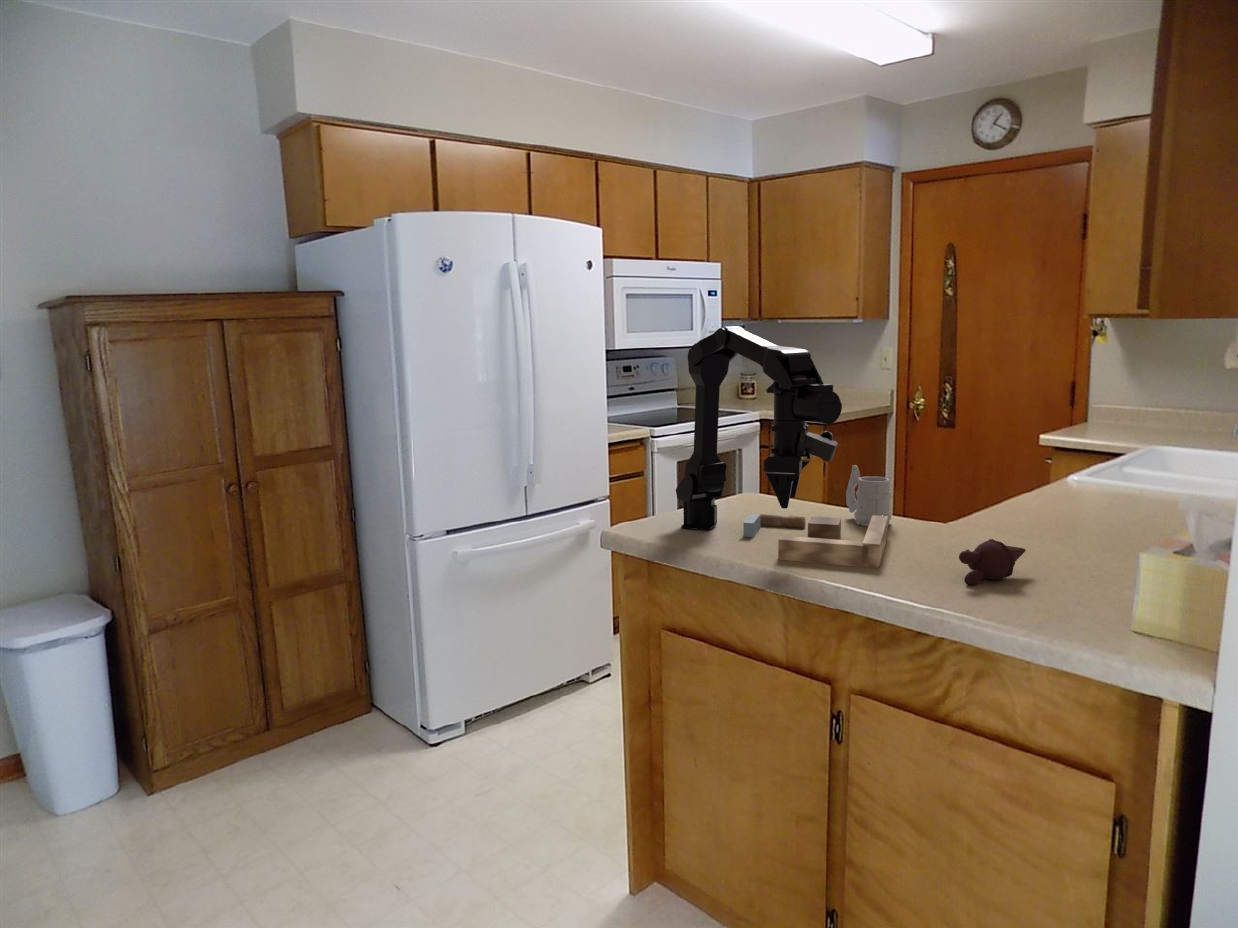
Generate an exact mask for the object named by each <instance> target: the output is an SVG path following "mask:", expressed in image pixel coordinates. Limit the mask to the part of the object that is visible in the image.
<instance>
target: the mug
mask: <svg viewBox="0 0 1238 928" xmlns="http://www.w3.org/2000/svg"><path fill="white" fill-rule="evenodd" d="M849 477H850V478H849V480H848V485H847V489H846V490H845V496H846V500H845V501H846V507H848V510H849V512H850V513H851V514H854V518H855V524H856V525H857V526H862V527H866V528H868V526H869V524H870V521H871V518H872V515H877V516H882V515H883V516H888V526H890V523H891V522H890V521H891V520H892V513H890V498H891V496H892V492H891V491H890V479H889V478H888V477H883V476H873V475H872V476H867V475H866V476H862V477H861V474H860V469H859V467H858V466H857V464H854V465H851V473H850V476H849ZM856 487H857V490H856V491H855V489H856Z"/></svg>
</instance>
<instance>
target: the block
mask: <svg viewBox="0 0 1238 928" xmlns="http://www.w3.org/2000/svg"><path fill="white" fill-rule="evenodd" d="M841 536H842V518H841V517H831V516H830V517H828V516H813V515H812V516H810V519H809V520H808V522H807V537H808V538H822V539H835V540H841Z"/></svg>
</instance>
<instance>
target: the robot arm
mask: <svg viewBox="0 0 1238 928" xmlns="http://www.w3.org/2000/svg"><path fill="white" fill-rule="evenodd" d="M738 355H740V356H742V357H744V358H746V359H747V360H749V361H752V362H754V363H756V364H757V365H759V366H760V367H762V371H763V373H764V374H765V376H768V378H770V379H771V380H772V381H773V382H772V384H771V385H770V386H768V388H767V389H765V390H766V391H765V392H766V393H767V394H773V424H772V425H771V432H773V434H772V435H773V437H772V438H773V442H772V443H773V444H772V447H771V448H770V449H771V450H770V451H771V453H770V455H769V456H768V457H767V458H765V459H764V460H763V472H764V474H765V476H766V477H767V479H768V481H769V483H770V486H771V487H772V490H773V491H774V493H775V497H776V498H777V500H778V503H779V505H780V506H779V507H781V509H788V508H789V503H790V499H795V498H796V495H797V490H798V487H799V482H800V478H801V474H802V472H803V471H802V470H803V469H804V468H805V467H806V466H807V465H808V464H810V462H811V459H812V457H813V456H815V457H817V458H820V459H821V460H822V461H825V462H827V463H830V462H831V460H833V458H834V456H835V452H836V449H837V447H838V445H839V443H838V442H837V440H834V436H833V432H830V431H828V430H824V431H823V432H822V433H820V434H818V433H812V432H810V429H809V427H810V426H809V424H808V423H809V422H810V423H814V424H815V423H817V424H823V425H832V424H834V423H835V422H836V421H838V420H839V418H840V416H841V413H842V408H843V404H842V401H841V398H840V396H839V395H838V394H837V393H836V392H835V391H834V385H833V384H831V383H826V384H824V381H823V380H822V377H821V375H820V374H819V371H818V369H817V367H816V365H815V363H814V361H813V359H812V355H811V353H810V352H809V351H808V350H807V349H803V348H798V347H792V346H782V345H777V344H774V343H772V342H770V341H769V340H766V339H764V338H762V337H760V336H758V335H755V334H753V333H751V332H749V331H748V330H745V329H744V328H743V327H741V326H736V325H735V326H732V325H731V326H721V327H719V328H717V330H715V332H714V333H711V334H710V335H708V336H706V337H704V338H701V339H700V340H698V341H697V342H696V343H694V344H693V345H692V346H691V347H689V349H688V353H687V365H688V374H689V375H690V377H691V380H692V381H693V382H694V383H693V384H695V400H694V401H695V403H694V404H695V405H694V408H695V409H694V427H693V428H694V433H693V452H692V454H691V456H690V457H689V459H688V461H687V462H686V464H685V469H684V476H683V478H682V480H681V481H680V482H679V484H678V485H677V487H675V493H676V498H677V500H679V501H682V502H683V506H682V507H683V524H681V526H680V527H681V529H691V530H702V531H703V530H706V531H710V530H712V529H713V528H714V527H715V526H716V525H717V523H718V505H717V504H715V503H716V502H715V501H716V499H721V498H722V494H723V490H724V487H725V482H727V477H726V476H727V474H726V472H727V465H726V464H727V463H726V462H723V461H722V460H721V458H720V456H719V454H718V440H719V439H718V438H719V416H720V415H719V413H720V389H721V385H722V383H723V382H724V380H725V378H726V377H727V375H728V373H729V367H730V362H731V361H733V359H734V358H736V357H737V356H738ZM807 422H808V423H807ZM805 457H806V459H805Z"/></svg>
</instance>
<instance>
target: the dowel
mask: <svg viewBox="0 0 1238 928" xmlns="http://www.w3.org/2000/svg"><path fill="white" fill-rule="evenodd" d="M759 514H760V526H761V527H762V526H763V527H778V528H779V527H780V528H795V529H796V528H797V529H805V528H806V522H807V521H806V520H807V519H806V517H805V516H793V515H791V516H790V515H778V514H764V513H763V514H761V513H759Z"/></svg>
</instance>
